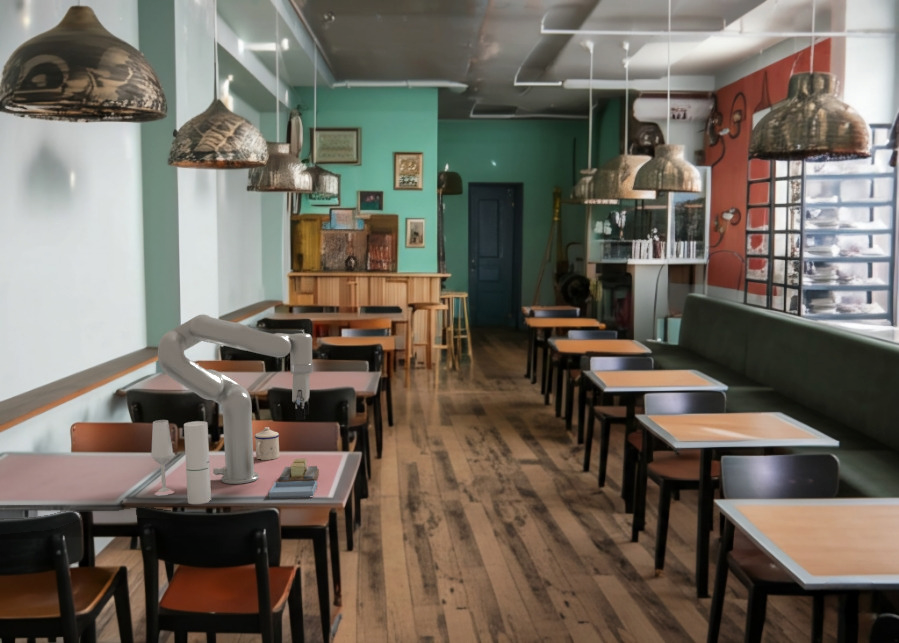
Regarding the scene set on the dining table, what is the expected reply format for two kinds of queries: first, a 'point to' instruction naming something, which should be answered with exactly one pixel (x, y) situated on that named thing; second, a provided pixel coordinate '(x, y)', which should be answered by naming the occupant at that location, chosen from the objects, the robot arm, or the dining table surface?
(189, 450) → the cylindrical container
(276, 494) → the tray
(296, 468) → the tan wooden cube
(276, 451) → the teacup with lid
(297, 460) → the light brown cube
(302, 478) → the slot bed
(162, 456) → the champagne flute
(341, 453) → the dining table surface
